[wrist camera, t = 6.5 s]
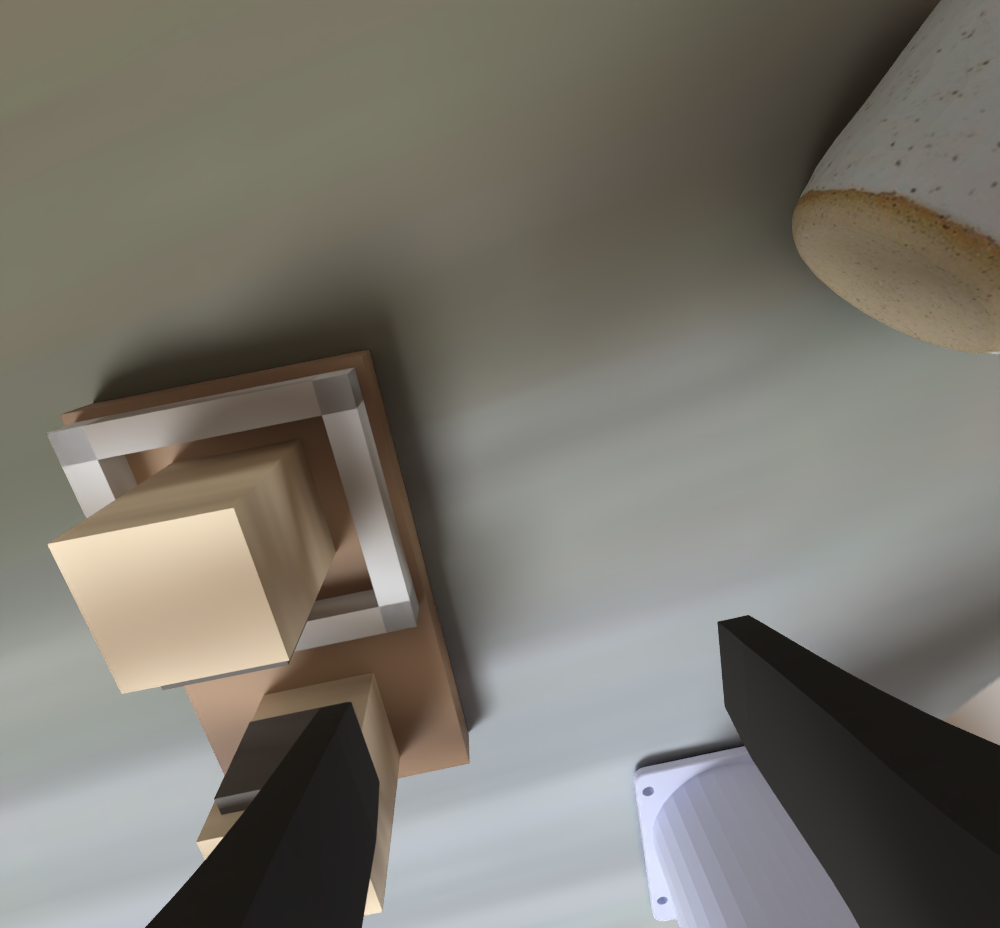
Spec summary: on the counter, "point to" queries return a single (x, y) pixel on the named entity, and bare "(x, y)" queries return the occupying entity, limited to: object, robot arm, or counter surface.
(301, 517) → the tan square block
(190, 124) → the counter surface
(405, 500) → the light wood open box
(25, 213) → the counter surface
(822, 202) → the ceramic mug
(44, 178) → the counter surface
